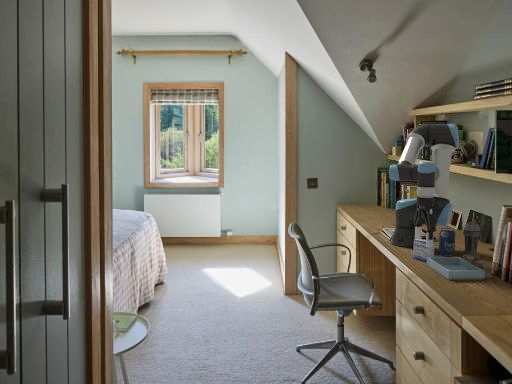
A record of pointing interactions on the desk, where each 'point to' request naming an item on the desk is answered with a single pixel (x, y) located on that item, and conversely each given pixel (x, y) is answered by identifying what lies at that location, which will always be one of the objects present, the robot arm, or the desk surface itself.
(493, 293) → the desk surface
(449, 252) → the soda can
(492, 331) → the desk surface
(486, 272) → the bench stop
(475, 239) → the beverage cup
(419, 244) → the medicine box
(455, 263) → the tray
